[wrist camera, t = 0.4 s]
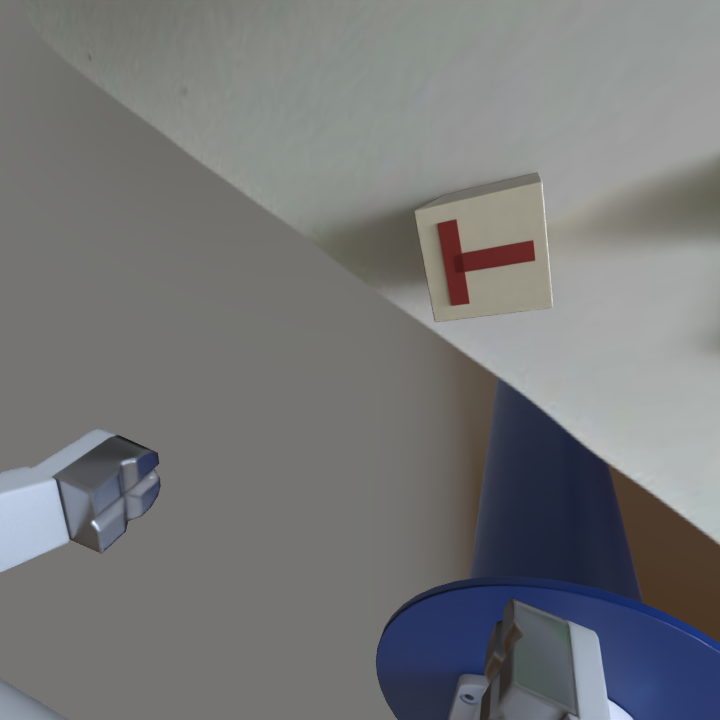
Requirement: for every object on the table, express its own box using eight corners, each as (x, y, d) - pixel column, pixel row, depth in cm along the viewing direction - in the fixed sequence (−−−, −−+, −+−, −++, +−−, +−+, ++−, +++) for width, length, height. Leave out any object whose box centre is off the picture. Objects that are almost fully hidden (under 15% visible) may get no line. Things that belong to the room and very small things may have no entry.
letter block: (546, 265, 25) (553, 308, 18) (458, 279, 27) (434, 323, 20) (538, 172, 23) (542, 181, 16) (444, 194, 25) (413, 210, 18)
